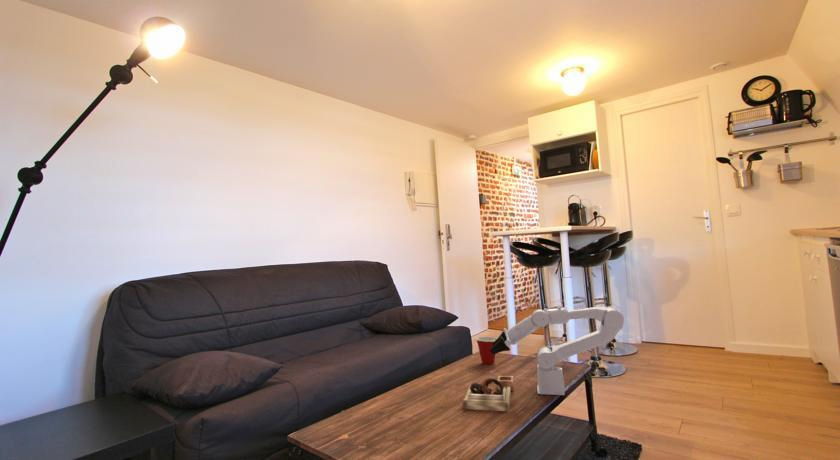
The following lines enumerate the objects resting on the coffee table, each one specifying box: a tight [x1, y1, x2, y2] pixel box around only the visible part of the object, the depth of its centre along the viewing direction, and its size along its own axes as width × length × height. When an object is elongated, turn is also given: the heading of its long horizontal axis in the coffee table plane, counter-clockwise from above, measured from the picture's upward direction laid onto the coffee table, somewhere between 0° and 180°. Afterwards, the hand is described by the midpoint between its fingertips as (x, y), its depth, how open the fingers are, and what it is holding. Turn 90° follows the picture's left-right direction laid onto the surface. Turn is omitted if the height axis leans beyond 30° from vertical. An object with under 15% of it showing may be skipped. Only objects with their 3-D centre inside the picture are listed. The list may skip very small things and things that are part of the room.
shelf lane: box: [462, 384, 512, 412], centre depth 142 cm, size 15×16×3 cm
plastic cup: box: [475, 336, 498, 366], centre depth 188 cm, size 11×11×12 cm
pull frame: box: [468, 375, 515, 401], centre depth 146 cm, size 15×23×4 cm, turn 164°
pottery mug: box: [469, 377, 503, 395], centre depth 143 cm, size 12×10×8 cm
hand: (492, 349), depth 154 cm, fingers open, 7 cm apart
